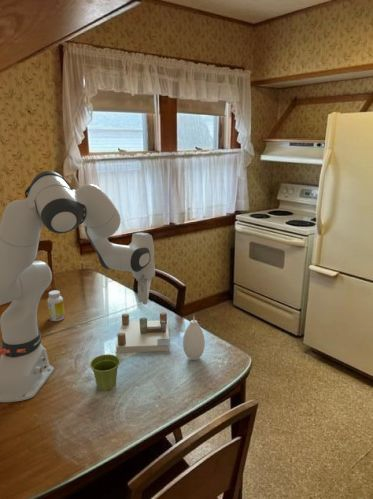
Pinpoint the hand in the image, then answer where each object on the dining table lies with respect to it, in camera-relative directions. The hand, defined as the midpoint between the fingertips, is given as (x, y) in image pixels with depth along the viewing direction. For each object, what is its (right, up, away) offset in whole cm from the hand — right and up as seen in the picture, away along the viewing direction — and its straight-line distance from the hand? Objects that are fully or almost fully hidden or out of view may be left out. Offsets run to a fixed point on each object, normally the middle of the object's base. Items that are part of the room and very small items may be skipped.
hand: (145, 303), depth 151 cm
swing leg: (+3, -11, -2) cm, 12 cm away
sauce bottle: (+20, -18, -16) cm, 31 cm away
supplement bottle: (-42, -9, +15) cm, 45 cm away
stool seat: (0, -14, -2) cm, 14 cm away
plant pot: (-9, -23, -30) cm, 39 cm away
